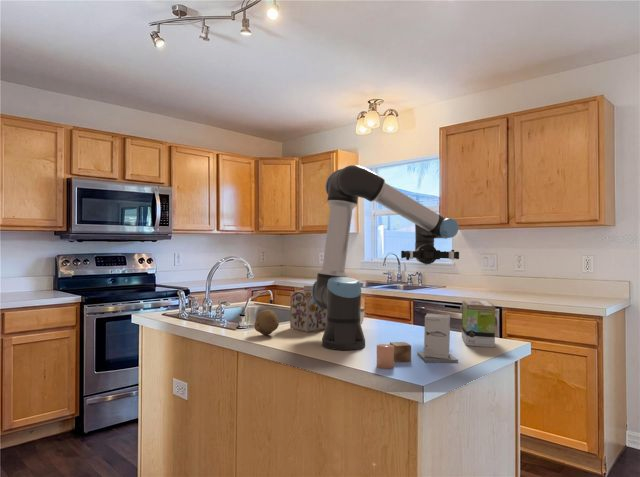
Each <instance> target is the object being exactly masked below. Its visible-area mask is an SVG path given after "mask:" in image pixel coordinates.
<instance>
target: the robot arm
mask: <svg viewBox="0 0 640 477" xmlns="http://www.w3.org/2000/svg"><path fill="white" fill-rule="evenodd" d="M385 180H386V179H385V178H383V176H380V175H379V174H377V173H375V172H374V171H371V170H370V169H368V168H366V167H363V166H361V165H357V164H356V165H355V164H351V165H347V166H345V167H343V168H340V169H337V170H335V171H333V172H332V173H331V174H330V175H329V176H328V177H327V179H326V182H325V192H326V194H327V200H326V203H328V205H329V207H330V208H329V215H328V222H327V228H326V229H327V230H326V237H325V246H324V252H323V260H322V266H321V267H322V268H321V269H320V270H318V271H317V276H316V280H315V282H314V283H313V284H312V285H311V286H312V291H311V293H312V298H313V300H314V302H315V303H316V304H317V305H318V306H319V307H321V308H323V309H326V310H327V325H326V328H325V330H324V332H323V335H322V338H321V346H323V347H324V348H327V349H330V350H336V351H337V350H338V351H352V350H354V351H355V350H360V349H363V348H365V347H366V337H365V335H364V331H363V328H362V324H360V316H361V306H362V303H361V302H362V286H361V282H360V280H358V279H356V278H352V277H349V275H348V274H347V273H346V264H347V263H346V262H347V254H348V246H349V240H350V232H351V231H350V230H351V224H352V218H353V217H352V216H353V210H354V209H355V208H356V207H357V206H358V200H359V198H362V199H364V200H367V201H369V202H376V203H378V204H380V205H381V206H383V207H385V208H387V209H388V210H390V211H392V212H394V213H395V214H397V215H399V216H401V217H402V218H405V220H407V221H410V222H411V223H413V224H414V228H415V229H414V230H415V231H414V233H415V235H414V237H415V240H414V241H415V243H414V247H415V248H414V250H401V252H400V257H401V259H404V258H405V260H406V261H410V260H413V259H416V261H417V262H419V263H421V264H423V265H424V266H427V265H431V264H433V263H435V261H436V260H441V259H449V260H454V259H455V260H459V259H460V252H459V251H455V249H451V250H450V251H449V250H448V251H446V250H444V251H441V250H440V249H436V247H435V239H443V240H444V239H451V238H454V237H455V236H456V235H457V234H458V232H459V229H460V228H459V224H458V222H457V220H456V219H454V218H451V217H445V216H442V215H440V214H438V213H437V212H436V211H434V210H431V209H430V208H428V206H425V205H423V204H422V203H420V202H419V201H418V200H415V199H413V198H412V197H410V196H408V195H407V194H405V193H403V192H402V191H400V190H399V189H397V188H394V187H393V186H391V185H390V184H388V183H387V182H386V181H385Z"/></svg>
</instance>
